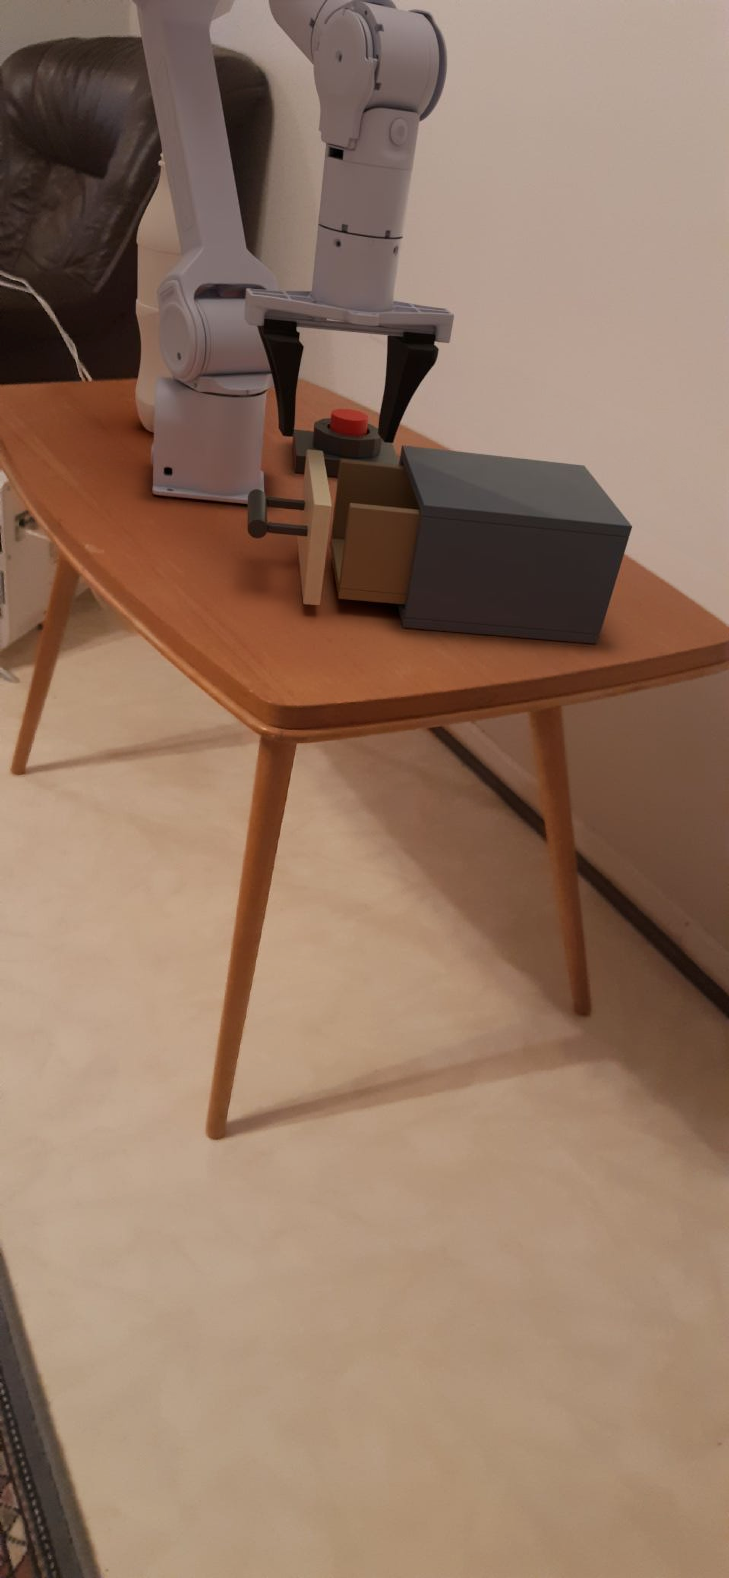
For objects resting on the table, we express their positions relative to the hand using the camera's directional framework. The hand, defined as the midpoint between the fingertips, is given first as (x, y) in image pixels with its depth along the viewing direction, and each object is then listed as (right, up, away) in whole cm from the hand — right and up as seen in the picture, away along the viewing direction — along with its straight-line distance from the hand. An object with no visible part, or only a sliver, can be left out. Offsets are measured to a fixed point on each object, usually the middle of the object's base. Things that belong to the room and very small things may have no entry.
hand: (336, 435), depth 76 cm
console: (0, +6, +25) cm, 25 cm away
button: (+1, +8, +23) cm, 24 cm away
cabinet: (+11, -12, +3) cm, 17 cm away
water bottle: (-17, +9, +26) cm, 33 cm away
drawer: (+2, -10, +1) cm, 10 cm away
